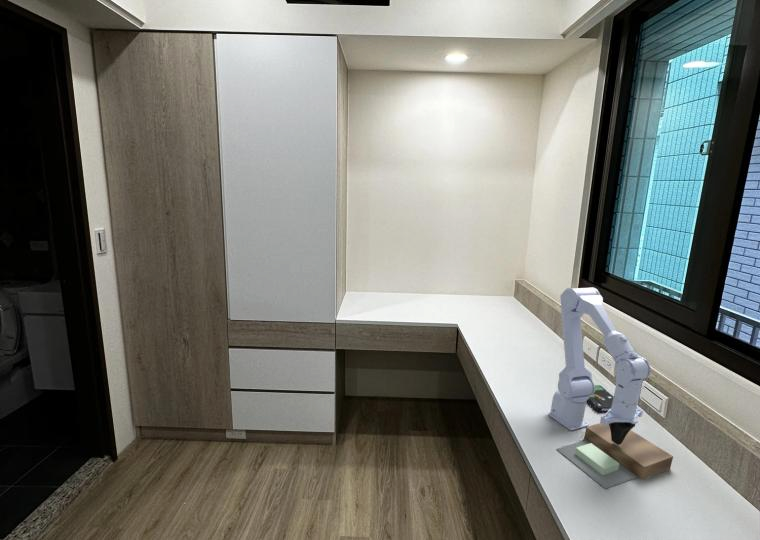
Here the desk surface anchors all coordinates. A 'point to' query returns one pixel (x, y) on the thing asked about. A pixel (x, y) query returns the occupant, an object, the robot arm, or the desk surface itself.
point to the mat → (603, 480)
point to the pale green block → (597, 459)
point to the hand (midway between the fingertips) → (616, 442)
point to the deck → (630, 451)
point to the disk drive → (600, 400)
